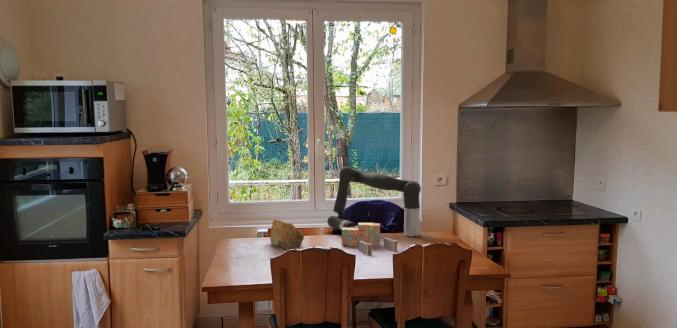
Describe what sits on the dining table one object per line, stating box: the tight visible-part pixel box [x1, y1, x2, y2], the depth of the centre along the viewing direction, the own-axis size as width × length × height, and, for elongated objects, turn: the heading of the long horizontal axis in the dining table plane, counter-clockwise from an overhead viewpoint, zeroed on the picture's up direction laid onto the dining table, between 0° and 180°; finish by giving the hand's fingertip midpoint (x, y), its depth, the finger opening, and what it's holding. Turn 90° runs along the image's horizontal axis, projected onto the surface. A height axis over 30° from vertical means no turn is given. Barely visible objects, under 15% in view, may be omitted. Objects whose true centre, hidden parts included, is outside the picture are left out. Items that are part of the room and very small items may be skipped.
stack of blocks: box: [341, 222, 381, 248], centre depth 256 cm, size 21×6×12 cm, turn 85°
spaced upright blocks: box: [358, 237, 398, 256], centre depth 245 cm, size 18×10×6 cm, turn 117°
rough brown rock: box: [269, 219, 305, 251], centre depth 252 cm, size 23×17×15 cm
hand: (362, 233), depth 259 cm, fingers closed
